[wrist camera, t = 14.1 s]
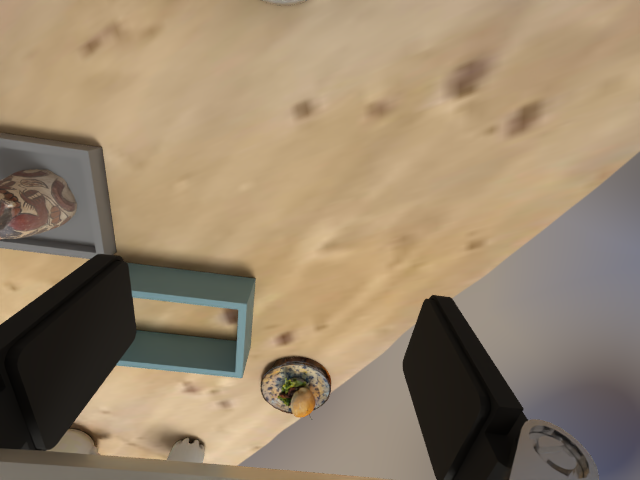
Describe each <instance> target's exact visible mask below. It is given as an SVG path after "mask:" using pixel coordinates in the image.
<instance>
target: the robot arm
mask: <svg viewBox="0 0 640 480" xmlns="http://www.w3.org/2000/svg"><path fill="white" fill-rule="evenodd" d="M262 1H264V2H266V3H270V4H274V5H285V6H291V5H295V4H299V3H303V2H305V1H307V0H262ZM135 336H136V323H135V314H134V306H133V298H132V290H131V282H130V274H129V266H128V263H127V262H125V261H123V259H122V257H120V256H115V255H107V254H97V255H95V256H94V257H93V258H91V259H90V260H88V261H87V262H86V263H84V264H83V265H82V266H80V267H79V268H78V269H76V270H75V271H73V272H72V273H71V274H69V275H68V276H67V277H65V278H64V279H62V280H61V281H60V282H58V283H57V284H56V285H54V286H53V287H52V288H50V289H49V290H47V291H46V292H45V293H43V294H42V295H41V296H39V297H38V298H36V299H35V300H34V301H32V302H31V303H30V304H28V305H27V306H26V307H24V308H23V309H21V310H20V311H19V312H17V313H16V314H15V315H13V316H12V317H10V318H9V319H8V320H6V321H5V322H4V323H2V324H1V325H0V480H390V479H380V478H369V477H358V476H347V475H336V474H324V473H312V472H301V471H290V470H277V469H266V468H254V467H242V466H230V465H218V464H206V463H194V462H182V461H170V460H157V459H144V458H131V457H118V456H105V455H92V454H79V453H67V452H54V451H46V450H50V449H52V448H54V447H55V446H56V445H57V444H58V442H59V441H60V440H61V438H62V437H63V436H64V434H65V433H66V432H67V430H68V429H69V428H70V426H71V425H72V424H73V422H74V421H75V420H76V418H77V417H78V416H79V414H80V413H81V411H82V410H83V409H84V407H85V406H86V405H87V403H88V402H89V401H90V399H91V398H92V397H93V395H94V394H95V393H96V391H97V390H98V389H99V387H100V386H101V385H102V383H103V382H104V381H105V379H106V378H107V376H108V375H109V374H110V372H111V371H112V370H113V368H114V367H115V366H116V364H117V363H118V362H119V360H120V359H121V358H122V356H123V355H124V354H125V352H126V351H127V350H128V348H129V347H130V346H131V344H132V343H133V341H134V339H135ZM403 371H404V375H405V379H406V382H407V385H408V388H409V391H410V395H411V398H412V401H413V405H414V408H415V411H416V415H417V418H418V421H419V424H420V428H421V431H422V434H423V437H424V441H425V444H426V447H427V451H428V454H429V457H430V461H431V464H432V467H433V470H434V473H435V476H436V479H437V480H599V475H598V471H597V467H596V464H595V463H594V461H593V459H592V457H591V455H590V454H589V453H588V452H587V451H586V449H585V448H584V447H583V446H582V445H581V444H580V443H579V442H578V441H577V440H576V439H575V438H574V437H573V436H571V435H570V434H568V433H567V432H566V431H564V430H563V429H561V428H560V427H558V426H556V425H554V424H552V423H549V422H546V421H543V420H529V421H528V419H527V418H526V417H525V415H524V413H523V412H522V411H523V407H522V406H521V404H520V403H519V401H518V400H517V398H516V396H515V395H514V393H513V392H512V390H511V389H510V387H509V386H508V384H507V383H506V381H505V380H504V378H503V377H502V375H501V373H500V372H499V370H498V369H497V367H496V366H495V364H494V363H493V361H492V360H491V358H490V356H489V355H488V354H487V352H486V350H485V349H484V347H483V346H482V344H481V343H480V341H479V339H478V338H477V337H476V335H475V333H474V332H473V330H472V329H471V327H470V326H469V324H468V322H467V321H466V319H465V318H464V316H463V315H462V313H461V312H460V310H459V309H458V307H457V306H456V304H455V302H454V301H453V299H452V298H450V297H444V296H436V295H432V296H431V297H430V298H429V299H425V300H424V302H423V305H422V308H421V310H420V313H419V316H418V319H417V322H416V325H415V328H414V330H413V333H412V336H411V339H410V342H409V345H408V348H407V350H406V353H405V356H404V359H403ZM391 480H392V479H391Z"/></svg>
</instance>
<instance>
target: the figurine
mask: <svg viewBox="0 0 640 480" xmlns="http://www.w3.org/2000/svg"><path fill="white" fill-rule="evenodd" d="M76 210H77V203H76V201H75V198H74V195H73V194H72V192H71V190H70V189H69V187H68V185H67V183H66V181H65V180H64V179H63V178H62V177H60V176H57V175H56V174H54V173H53V172H51V171H49V170H39V169H35V170H31V169H30V170H21V171H18V172H15V173H13V174H11V175H9V176H8V177H6V178H4V179H2V180H0V240H1V239H17V238H23V237H27V236H31V235H35V234H39V233H42V232H45V231H48V230H51V229H54V228H57V227H59V226H62V225H63V224H65V223H66V222H68V221H69V220H70V219H71V218H72V217H73V216H74V215H75V213H76Z"/></svg>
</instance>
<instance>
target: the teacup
mask: <svg viewBox="0 0 640 480" xmlns="http://www.w3.org/2000/svg"><path fill="white" fill-rule="evenodd" d="M46 451H54V452H67V453H79V454H92V455H100V454H99V453H98V448H97V447H95V446H94V442H93V440H92V439H91V437H90V436H89V435H87V434H86V433H84V432H82V431H80V430H76V429H68V430H67V432H66V433H65V434H64V436H63V437H62V438H61V440H60V441H59V442H58V444H57V445H56V446H55V447H54V448H52V449H50V450H46Z"/></svg>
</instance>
